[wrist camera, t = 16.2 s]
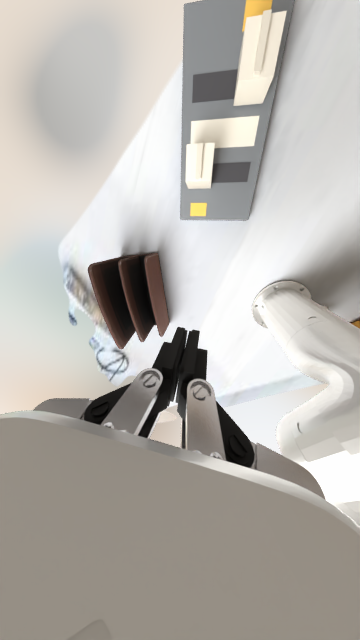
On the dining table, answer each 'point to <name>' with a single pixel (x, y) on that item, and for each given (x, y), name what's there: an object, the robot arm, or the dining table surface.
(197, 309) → the dining table surface
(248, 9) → the switch panel
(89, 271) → the letter holder
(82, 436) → the robot arm
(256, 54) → the switch tab
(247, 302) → the dining table surface
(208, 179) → the switch tab
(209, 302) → the dining table surface
